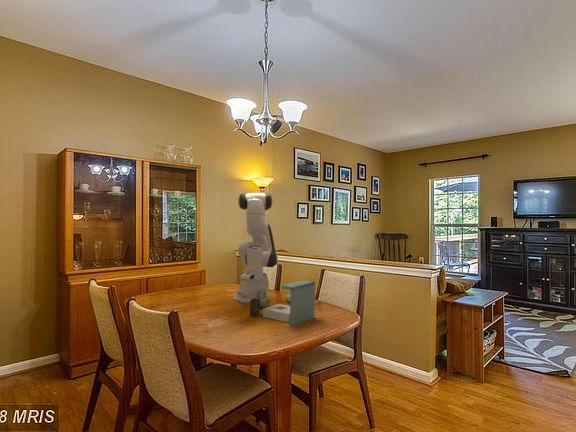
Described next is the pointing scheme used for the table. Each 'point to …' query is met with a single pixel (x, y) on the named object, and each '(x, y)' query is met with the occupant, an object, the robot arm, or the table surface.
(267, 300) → the air freshener
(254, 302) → the peg
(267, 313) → the socket block
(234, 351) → the table surface
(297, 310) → the teal stepped panel
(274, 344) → the table surface
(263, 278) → the robot arm
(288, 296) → the mint green bar
